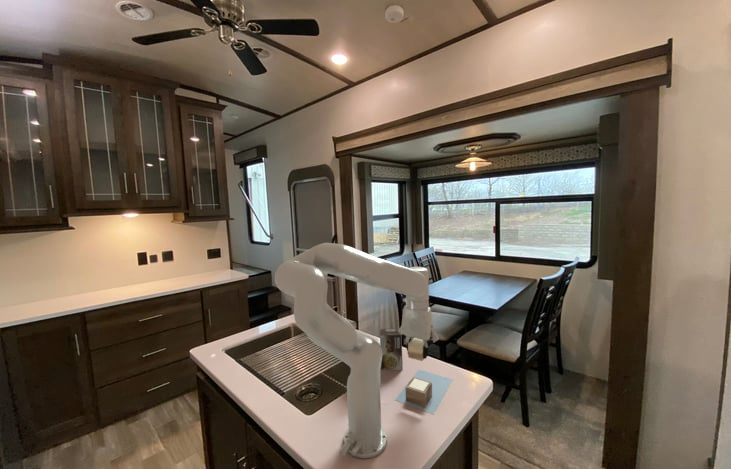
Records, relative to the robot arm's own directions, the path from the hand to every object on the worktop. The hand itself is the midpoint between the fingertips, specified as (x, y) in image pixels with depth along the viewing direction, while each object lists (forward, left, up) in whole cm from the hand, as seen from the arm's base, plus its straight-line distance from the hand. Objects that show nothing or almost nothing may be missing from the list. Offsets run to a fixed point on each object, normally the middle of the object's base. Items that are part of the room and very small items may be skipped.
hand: (417, 354), depth 98 cm
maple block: (0, 0, -1) cm, 1 cm away
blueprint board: (+6, 0, -17) cm, 18 cm away
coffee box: (+14, +18, -17) cm, 29 cm away
